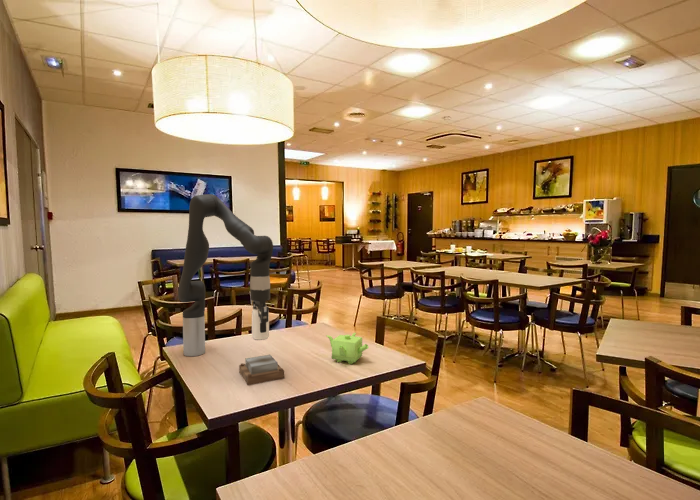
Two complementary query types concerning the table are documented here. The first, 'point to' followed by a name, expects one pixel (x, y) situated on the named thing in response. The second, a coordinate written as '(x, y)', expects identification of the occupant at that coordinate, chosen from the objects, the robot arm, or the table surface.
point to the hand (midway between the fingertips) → (260, 329)
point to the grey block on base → (260, 370)
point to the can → (258, 326)
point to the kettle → (347, 348)
